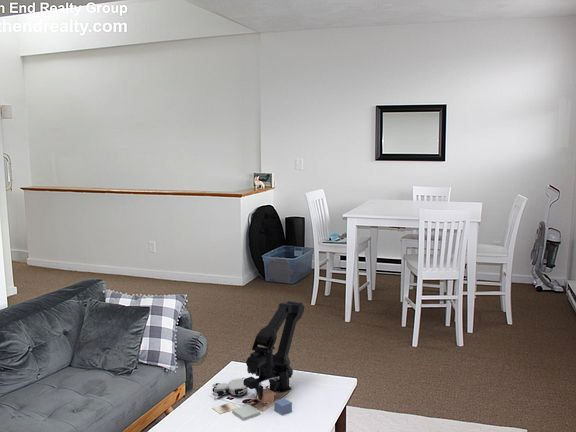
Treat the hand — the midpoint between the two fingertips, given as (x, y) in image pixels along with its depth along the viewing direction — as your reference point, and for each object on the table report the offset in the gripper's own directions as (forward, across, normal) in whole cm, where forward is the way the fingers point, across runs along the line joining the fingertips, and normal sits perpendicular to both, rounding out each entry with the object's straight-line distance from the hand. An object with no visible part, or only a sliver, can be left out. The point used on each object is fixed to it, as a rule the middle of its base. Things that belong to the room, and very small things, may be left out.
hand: (265, 398), depth 238 cm
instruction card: (+1, +17, -4) cm, 17 cm away
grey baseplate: (+1, +13, +5) cm, 14 cm away
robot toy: (+2, +8, -15) cm, 17 cm away
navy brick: (+1, 0, +12) cm, 12 cm away
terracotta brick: (+1, 0, 0) cm, 1 cm away
